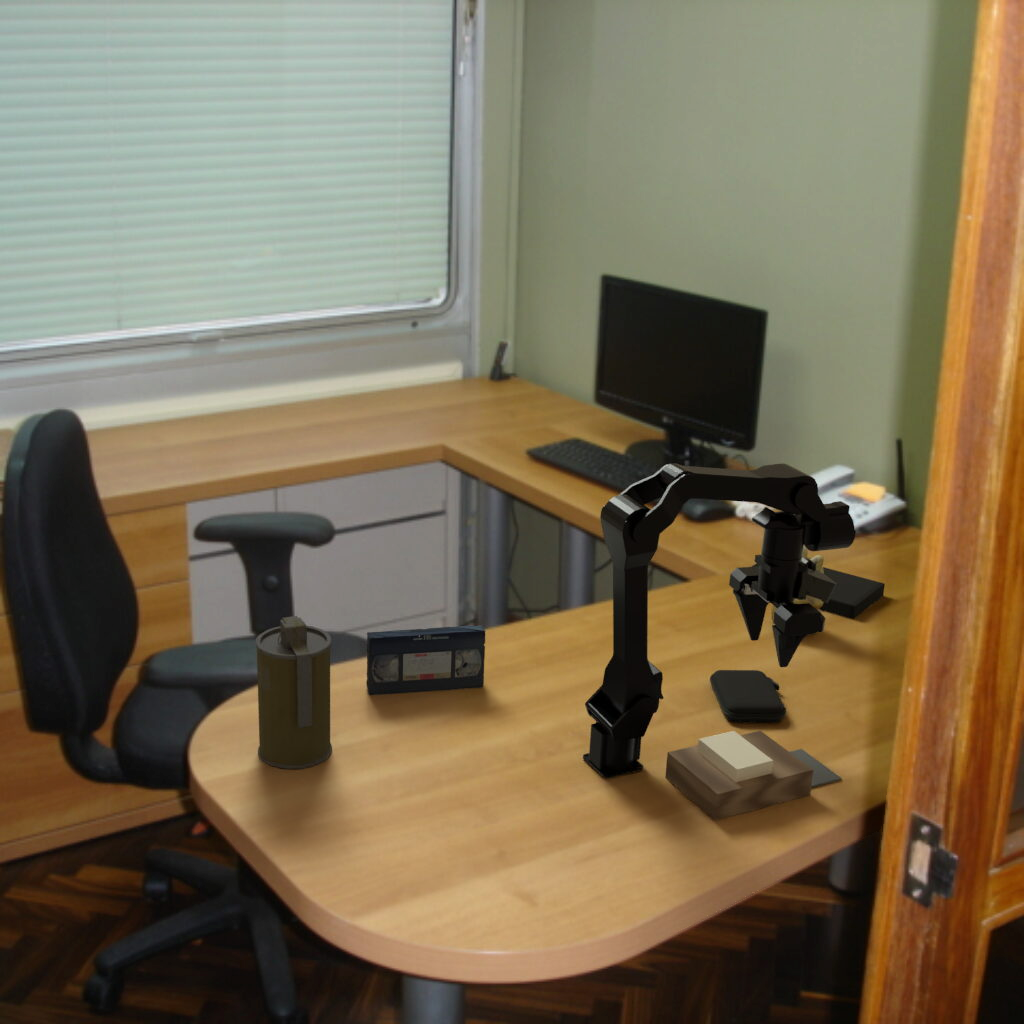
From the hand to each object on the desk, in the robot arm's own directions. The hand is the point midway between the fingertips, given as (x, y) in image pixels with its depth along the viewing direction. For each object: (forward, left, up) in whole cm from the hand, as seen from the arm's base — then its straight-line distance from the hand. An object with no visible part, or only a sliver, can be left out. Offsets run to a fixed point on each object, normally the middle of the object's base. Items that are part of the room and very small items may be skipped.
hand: (768, 653), depth 200 cm
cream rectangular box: (-12, -10, -10) cm, 19 cm away
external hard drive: (+44, +42, -14) cm, 63 cm away
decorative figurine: (+30, +30, -14) cm, 44 cm away
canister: (-64, +23, -14) cm, 70 cm away
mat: (0, -10, -14) cm, 17 cm away
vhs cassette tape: (-39, +34, -14) cm, 54 cm away
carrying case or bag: (+5, +10, -14) cm, 18 cm away
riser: (-11, -10, -14) cm, 21 cm away
